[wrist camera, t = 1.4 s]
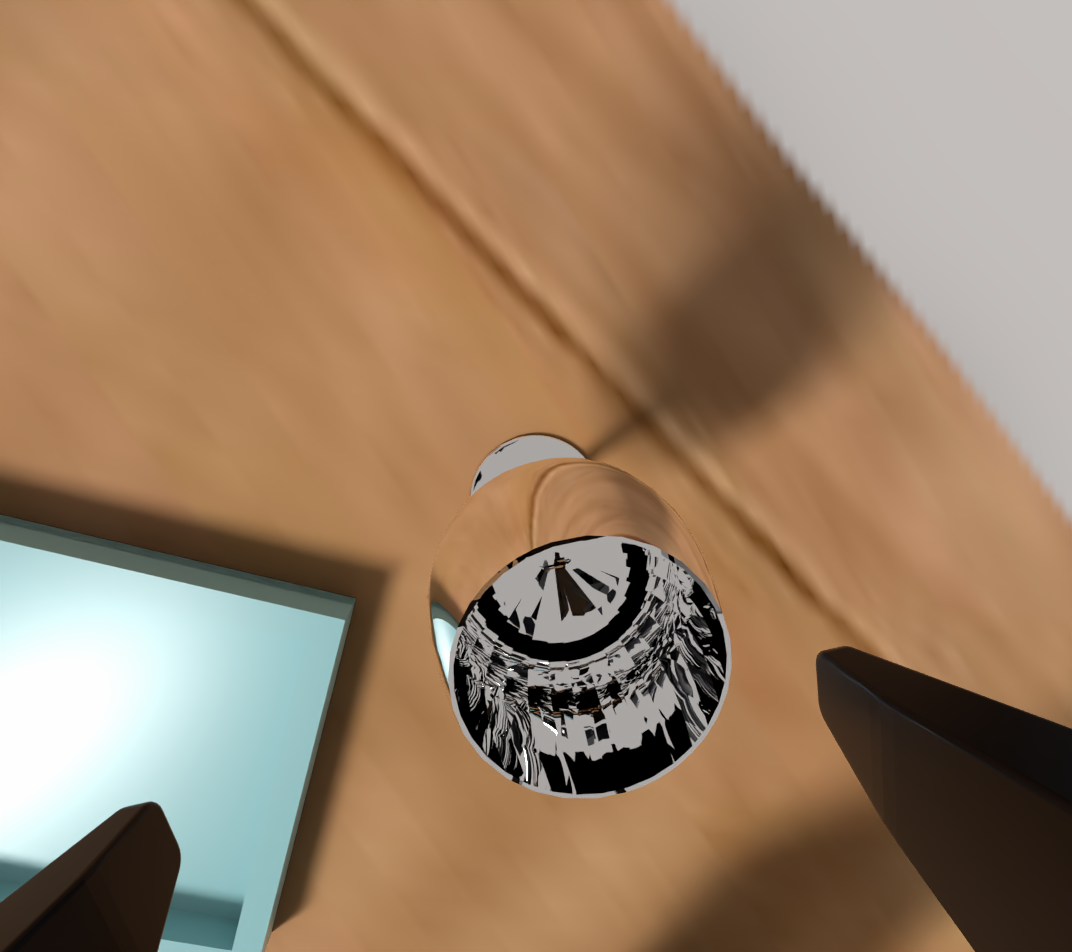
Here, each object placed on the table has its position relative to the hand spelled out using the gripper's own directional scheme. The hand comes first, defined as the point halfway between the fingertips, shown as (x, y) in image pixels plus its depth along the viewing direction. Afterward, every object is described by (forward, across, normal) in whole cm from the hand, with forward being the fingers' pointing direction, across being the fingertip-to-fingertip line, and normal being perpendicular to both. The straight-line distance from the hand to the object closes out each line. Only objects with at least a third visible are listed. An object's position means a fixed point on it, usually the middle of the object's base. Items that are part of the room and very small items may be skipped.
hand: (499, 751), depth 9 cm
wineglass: (+14, -2, +1) cm, 14 cm away
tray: (+13, +15, +6) cm, 21 cm away
